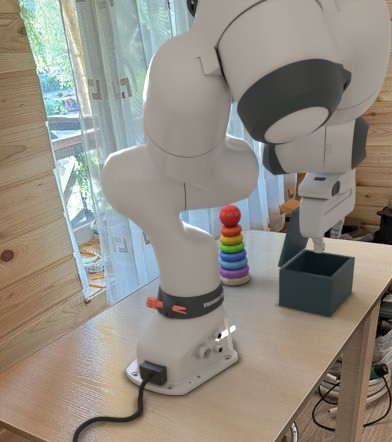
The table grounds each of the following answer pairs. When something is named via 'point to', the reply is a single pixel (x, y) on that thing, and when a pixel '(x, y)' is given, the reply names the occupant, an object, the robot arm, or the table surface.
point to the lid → (292, 233)
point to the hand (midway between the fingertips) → (327, 244)
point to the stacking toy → (232, 248)
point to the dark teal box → (316, 282)
